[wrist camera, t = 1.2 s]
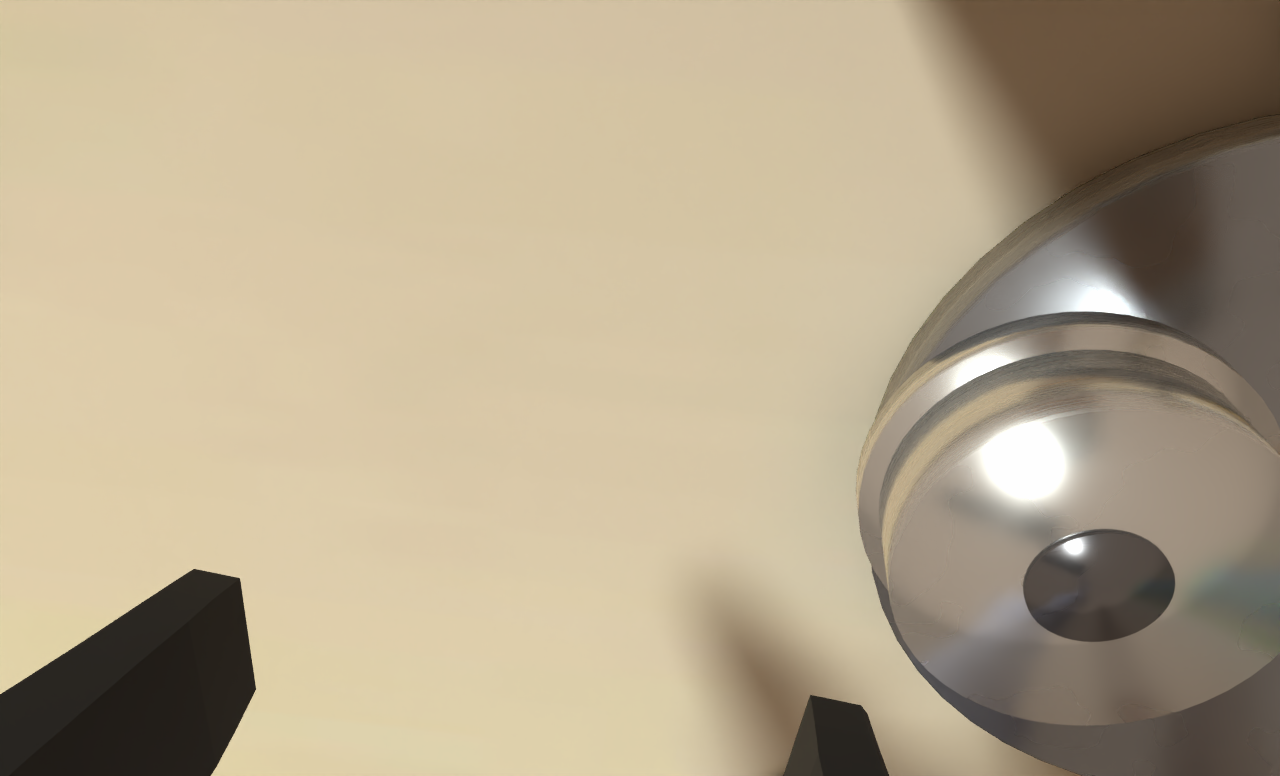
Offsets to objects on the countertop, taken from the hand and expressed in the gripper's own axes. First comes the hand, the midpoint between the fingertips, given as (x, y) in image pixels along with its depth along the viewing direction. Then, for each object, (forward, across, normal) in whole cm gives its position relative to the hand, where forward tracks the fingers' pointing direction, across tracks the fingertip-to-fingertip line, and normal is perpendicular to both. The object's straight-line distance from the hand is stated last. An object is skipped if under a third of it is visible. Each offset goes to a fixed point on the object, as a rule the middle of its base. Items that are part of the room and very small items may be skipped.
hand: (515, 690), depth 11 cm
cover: (+8, -9, +1) cm, 12 cm away
